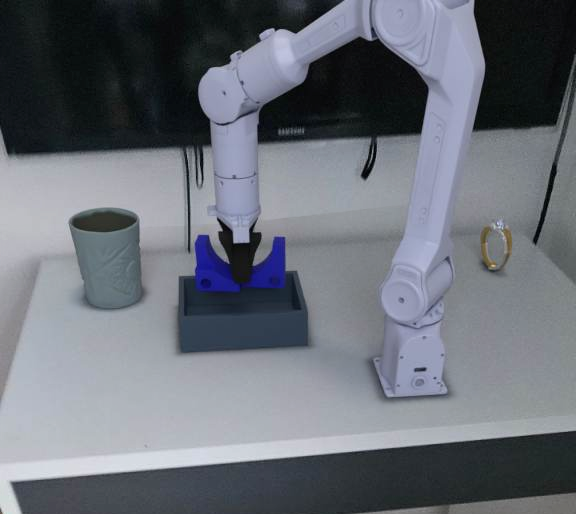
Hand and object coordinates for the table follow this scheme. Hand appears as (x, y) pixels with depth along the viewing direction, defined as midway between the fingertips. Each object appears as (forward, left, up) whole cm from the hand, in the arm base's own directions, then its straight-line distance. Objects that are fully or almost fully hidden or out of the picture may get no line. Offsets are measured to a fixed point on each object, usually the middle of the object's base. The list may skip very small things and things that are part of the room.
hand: (240, 274), depth 106 cm
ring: (+15, -42, -8) cm, 45 cm away
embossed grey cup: (+12, +19, -8) cm, 24 cm away
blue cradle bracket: (0, 0, -2) cm, 2 cm away
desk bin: (0, 0, -8) cm, 8 cm away
